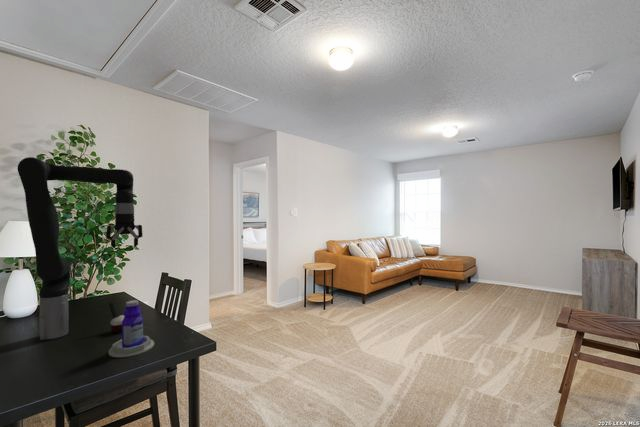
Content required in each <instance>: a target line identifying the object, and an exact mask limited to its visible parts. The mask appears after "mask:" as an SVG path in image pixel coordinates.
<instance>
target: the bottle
mask: <svg viewBox="0 0 640 427" xmlns="http://www.w3.org/2000/svg"><path fill="white" fill-rule="evenodd" d="M139 306H140V305H139V300H137V299H136V300H135V299H134V300H129V301H126V302H125V311H124V312H123V316H124V319H123V321H122V332H121V339H122V346H123V348H130V347H134V346H138V345H141V344H142V342H143V336H144V322H143V320H144V319H143V316H142V313H141V312H142V310H141V309H140V307H139Z"/></svg>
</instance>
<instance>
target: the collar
mask: <svg viewBox="0 0 640 427" xmlns="http://www.w3.org/2000/svg"><path fill="white" fill-rule="evenodd" d="M154 346H155V341H154V340H153V339H151V338H150V336H148V335H143V342H142V344H141V345H138V346H134V347H130V348H123V346H122V338H121V339H120V340H117V341H116V342H114V343H113V344H112V346H111V347H110V349H108V351H107V352H108V353H107V354H108V356H110V357H112V358H127V357H134V356H138V355H141V354H143V353H146V352H148V351H150V350H151V349H153V347H154Z"/></svg>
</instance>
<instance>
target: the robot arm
mask: <svg viewBox="0 0 640 427" xmlns="http://www.w3.org/2000/svg"><path fill="white" fill-rule="evenodd" d="M17 173H18V176H19V178H20V181H21V185H22V188H23V191H24V196H25V205H26V206H25V207H26V213H27V219H28V224H29V228H30V234H31V237H32V243H33V246H34V251H35V265H36V266H35V268H36V274H37V276H38V277H39V278H40V279H41V280H42V283H41V288H40V290H39V341H45V340H53V339H58V338H61V337H64V336H66V335H68V334H69V288H70V283H71V282H70V281H71V267H70V266H71V265H70V263H69V261H68V259H66V258H65V257H62V256H61V254H60V252H59V251H60V250H59V236H60V222H59V216H58V211H57V208H56V205H55V203H54V201H53V199H52V196H51V195H50V190H49V187H48V186H49V185H48V182H49V181H69V182H79V183H90V184H101V185H102V184H111V185H116V192H115V206H114V207H115V208H114V225H107V226H106V234H105V235H106V236H105V237H106V239H108V240H110V246H111V248H112V249H116V239H117V238H118V236H119V235H121V236H123V235H131V236H132V237H133V247H134V248H135V247H137V246H138V245H139V239H140V238H143V225H141V224H135V206H134V192H133V191H134V175H133V173H132V172H131V171H130V170H126V169H120V168H118V169H115V168H108V169H107V168H101V167H93V166H92V167H91V166H67V165H66V166H64V165H58V164H53V163H49V162H45V161H43V160H42V159H40V158H37V157H32V156H31V157H25V158H22V159H21V160H20V161H19V162H18V164H17ZM135 229H136V230H137V231H138V232H137V234H136V232H135V231H134V230H135ZM113 230H115V232H114V234H113V235H112V236H111V233H112V232H111V231H113Z"/></svg>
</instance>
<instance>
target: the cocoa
mask: <svg viewBox="0 0 640 427" xmlns="http://www.w3.org/2000/svg"><path fill="white" fill-rule="evenodd" d="M108 304H109V305H108V306H109V308H110V312H111V315H112V319H111V321H110V329H111V331H112V332H113V333H115V334H117V333H122V321H123V319H124V314H121V315H119V316H117V313H116V309H115V305H114V302H109V303H108Z"/></svg>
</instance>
